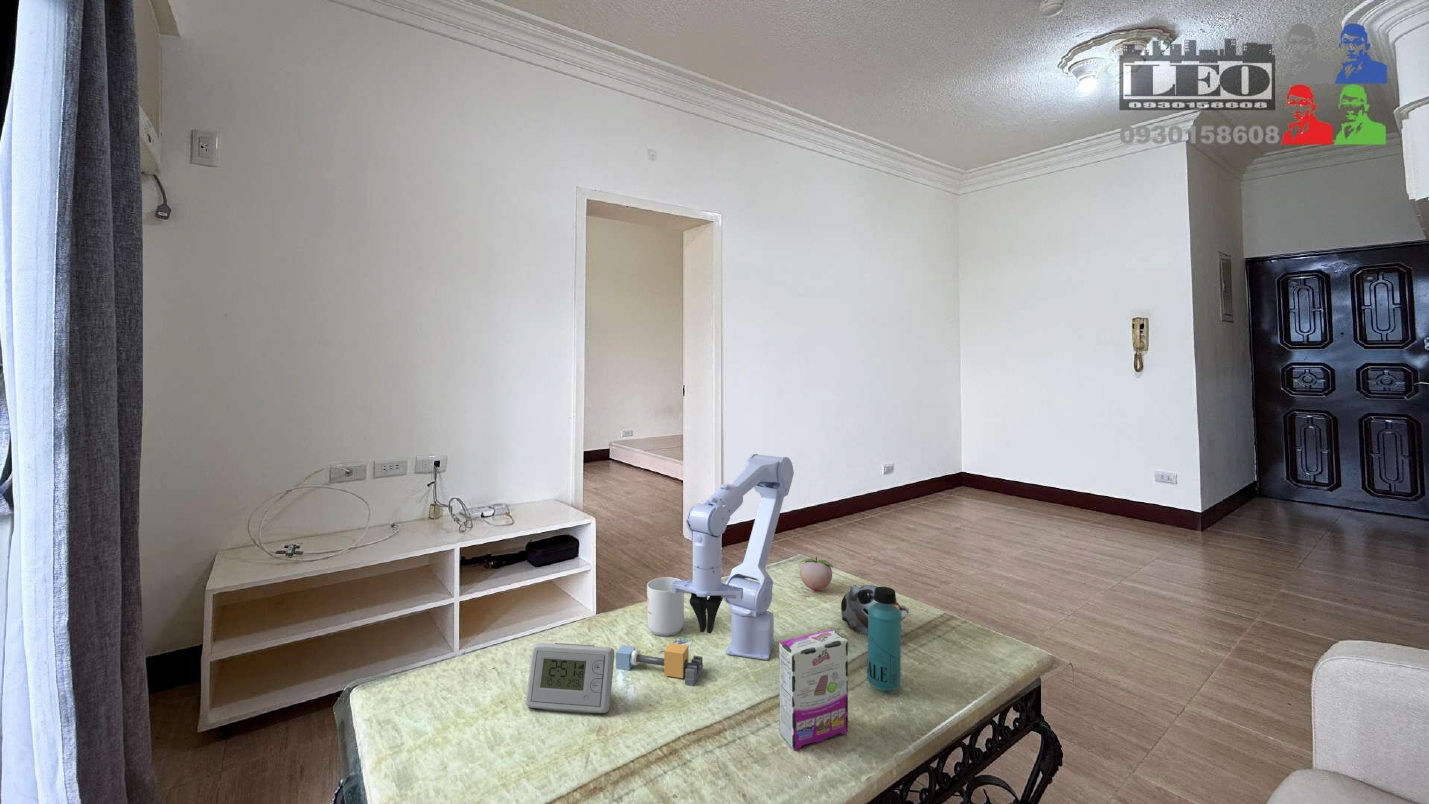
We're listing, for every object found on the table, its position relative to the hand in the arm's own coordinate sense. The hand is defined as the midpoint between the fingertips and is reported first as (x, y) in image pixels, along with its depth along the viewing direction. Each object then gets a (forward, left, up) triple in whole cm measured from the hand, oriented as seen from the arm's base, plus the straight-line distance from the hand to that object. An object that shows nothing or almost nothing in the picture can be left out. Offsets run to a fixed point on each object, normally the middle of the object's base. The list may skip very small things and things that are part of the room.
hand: (706, 630), depth 108 cm
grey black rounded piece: (-33, -33, -10) cm, 47 cm away
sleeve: (+7, 0, -10) cm, 12 cm away
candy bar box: (-22, +11, -10) cm, 27 cm away
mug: (+17, -19, -10) cm, 27 cm away
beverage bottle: (-34, -6, -10) cm, 36 cm away
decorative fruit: (-17, -51, -10) cm, 55 cm away
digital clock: (+22, +15, -10) cm, 29 cm away
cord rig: (+10, 0, -10) cm, 14 cm away
